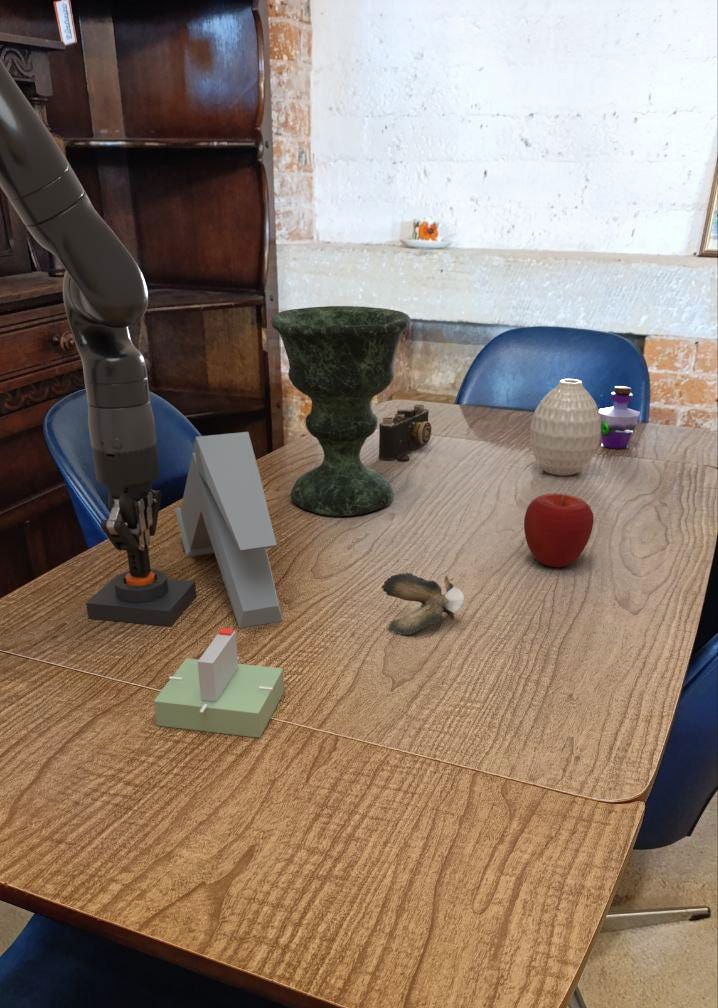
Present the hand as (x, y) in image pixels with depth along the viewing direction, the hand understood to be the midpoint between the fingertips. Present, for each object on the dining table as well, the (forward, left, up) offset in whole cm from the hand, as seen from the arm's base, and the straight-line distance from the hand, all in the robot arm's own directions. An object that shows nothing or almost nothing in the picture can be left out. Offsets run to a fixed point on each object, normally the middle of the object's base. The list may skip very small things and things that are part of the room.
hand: (140, 575), depth 111 cm
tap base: (+18, -21, -5) cm, 28 cm away
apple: (+52, +26, -5) cm, 58 cm away
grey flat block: (+18, -21, -2) cm, 28 cm away
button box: (0, 0, -5) cm, 5 cm away
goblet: (+16, +47, -5) cm, 50 cm away
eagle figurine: (+36, +3, -5) cm, 36 cm away
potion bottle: (+64, +91, -5) cm, 111 cm away
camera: (+23, +78, -5) cm, 81 cm away
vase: (+53, +71, -5) cm, 89 cm away
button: (0, 0, -2) cm, 2 cm away
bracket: (+8, +11, -5) cm, 14 cm away
